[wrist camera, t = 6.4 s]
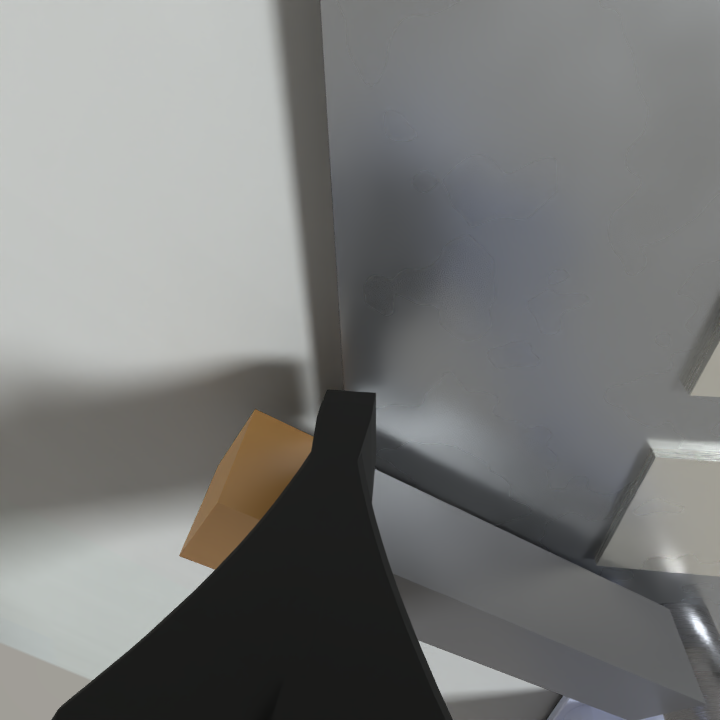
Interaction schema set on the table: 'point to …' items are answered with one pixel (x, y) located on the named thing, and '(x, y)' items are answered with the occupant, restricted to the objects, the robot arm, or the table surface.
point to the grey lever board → (542, 275)
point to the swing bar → (474, 585)
